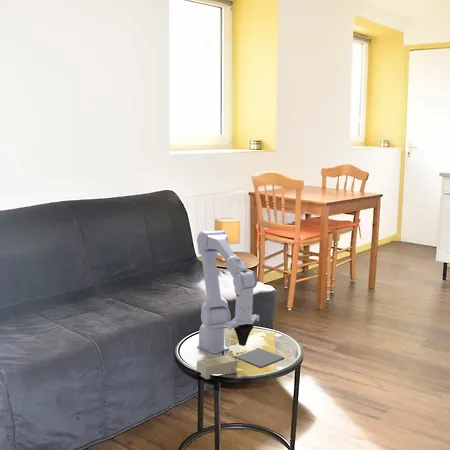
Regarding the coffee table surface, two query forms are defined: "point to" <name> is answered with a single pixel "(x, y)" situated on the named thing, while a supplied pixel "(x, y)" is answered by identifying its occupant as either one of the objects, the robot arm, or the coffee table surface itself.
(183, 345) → the coffee table surface
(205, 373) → the skincare box
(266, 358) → the mat
